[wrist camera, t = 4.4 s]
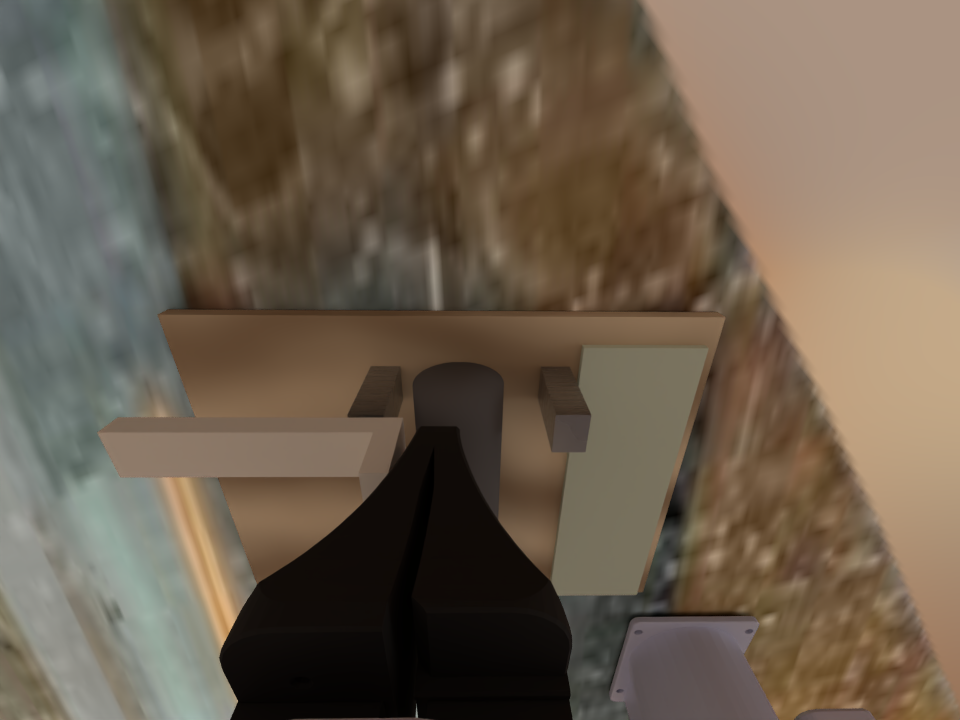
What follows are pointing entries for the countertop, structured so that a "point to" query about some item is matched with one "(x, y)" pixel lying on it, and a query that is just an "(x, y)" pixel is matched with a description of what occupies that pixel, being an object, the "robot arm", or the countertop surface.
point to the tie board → (525, 426)
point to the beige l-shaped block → (256, 447)
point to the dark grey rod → (466, 416)
